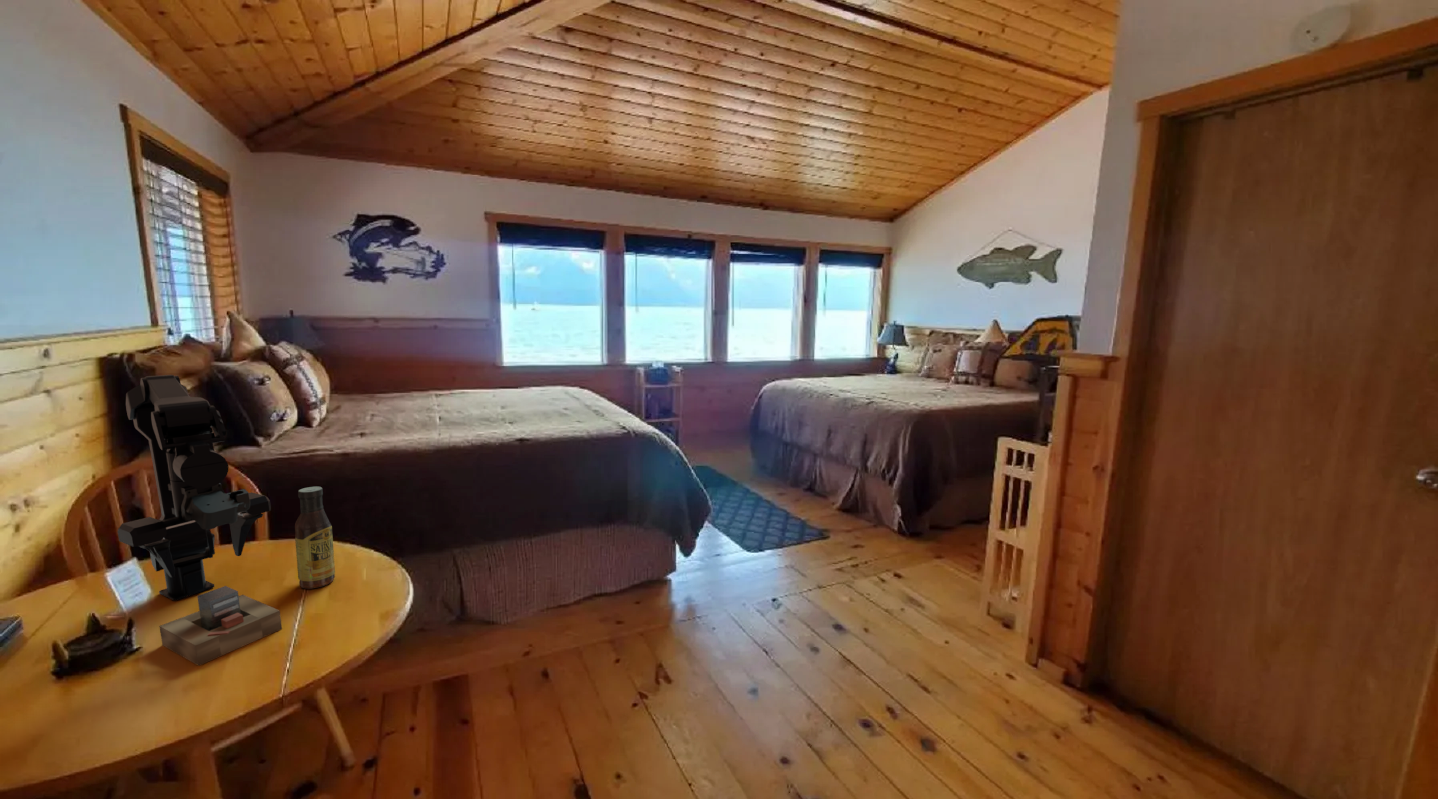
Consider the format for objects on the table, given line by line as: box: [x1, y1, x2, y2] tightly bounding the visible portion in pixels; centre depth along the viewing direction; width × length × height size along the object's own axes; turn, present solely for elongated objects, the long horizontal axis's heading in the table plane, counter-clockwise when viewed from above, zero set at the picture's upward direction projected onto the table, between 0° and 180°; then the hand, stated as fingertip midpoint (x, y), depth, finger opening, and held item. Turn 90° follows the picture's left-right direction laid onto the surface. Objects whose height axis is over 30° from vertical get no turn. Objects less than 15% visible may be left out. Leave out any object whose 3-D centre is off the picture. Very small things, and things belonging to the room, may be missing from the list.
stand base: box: [159, 594, 283, 666], centre depth 101 cm, size 13×12×5 cm
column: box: [196, 585, 241, 631], centre depth 101 cm, size 5×4×8 cm
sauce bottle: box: [294, 486, 336, 590], centre depth 120 cm, size 7×6×20 cm
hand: (206, 565), depth 100 cm, fingers open, 9 cm apart
